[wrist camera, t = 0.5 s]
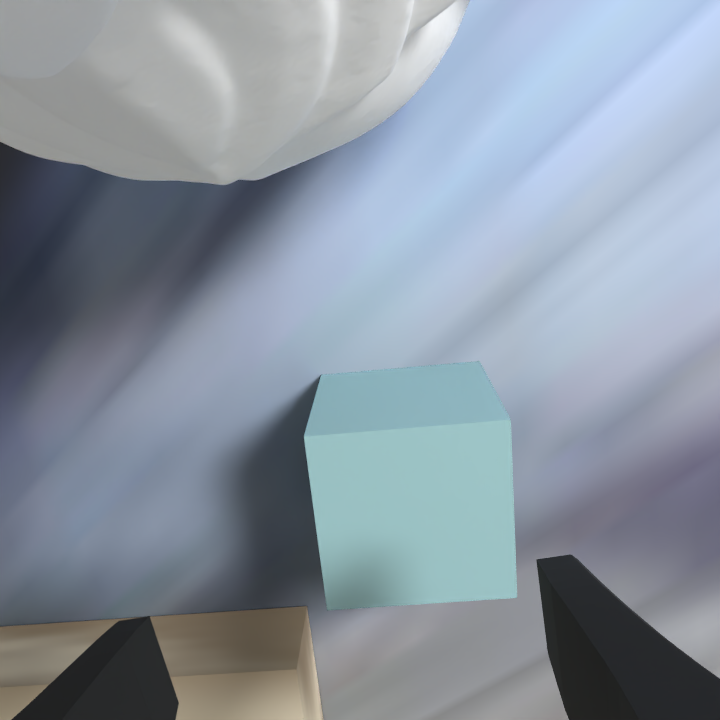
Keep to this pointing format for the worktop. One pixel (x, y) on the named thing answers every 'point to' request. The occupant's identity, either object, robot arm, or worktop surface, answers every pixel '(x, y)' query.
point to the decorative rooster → (210, 80)
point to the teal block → (412, 487)
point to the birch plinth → (186, 662)
